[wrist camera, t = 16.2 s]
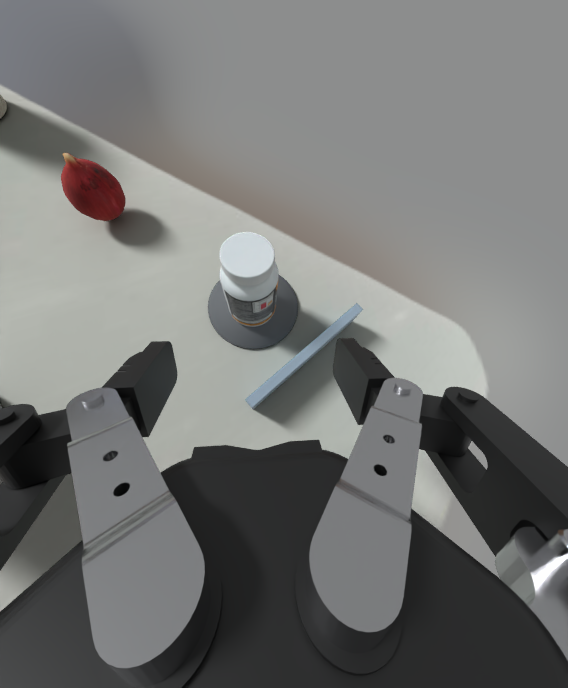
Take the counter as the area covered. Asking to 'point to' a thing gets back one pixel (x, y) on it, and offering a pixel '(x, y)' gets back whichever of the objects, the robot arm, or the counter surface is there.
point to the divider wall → (302, 357)
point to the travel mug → (2, 106)
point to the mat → (259, 334)
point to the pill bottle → (249, 278)
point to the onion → (92, 189)
